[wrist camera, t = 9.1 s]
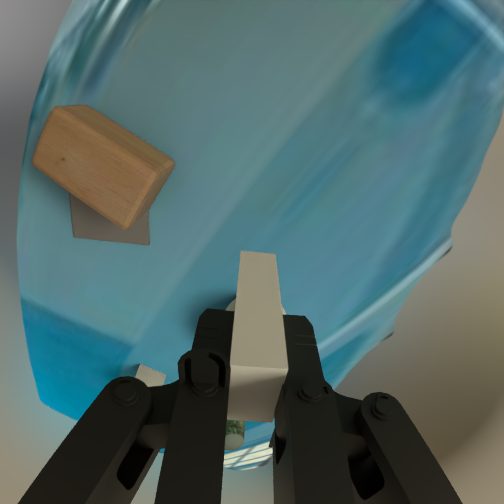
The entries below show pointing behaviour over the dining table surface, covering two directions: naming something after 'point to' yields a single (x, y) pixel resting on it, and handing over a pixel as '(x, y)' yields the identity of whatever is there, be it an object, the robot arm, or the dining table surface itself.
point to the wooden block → (101, 163)
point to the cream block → (150, 376)
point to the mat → (105, 225)
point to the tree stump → (234, 434)
